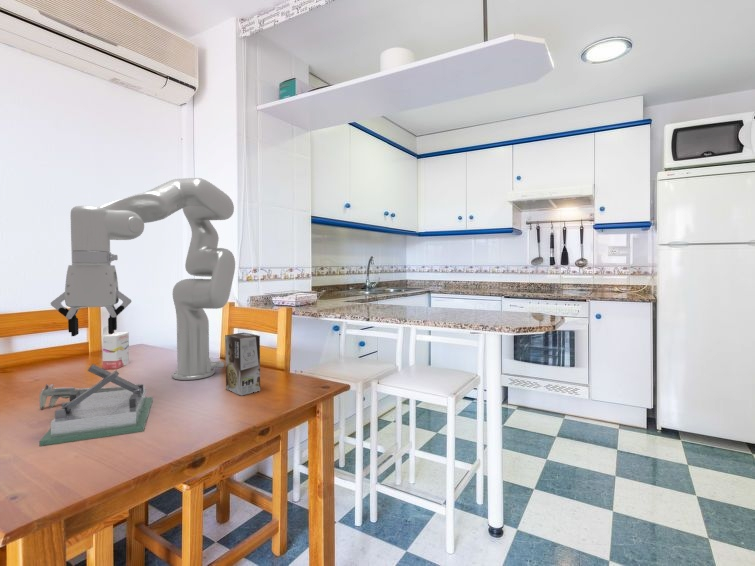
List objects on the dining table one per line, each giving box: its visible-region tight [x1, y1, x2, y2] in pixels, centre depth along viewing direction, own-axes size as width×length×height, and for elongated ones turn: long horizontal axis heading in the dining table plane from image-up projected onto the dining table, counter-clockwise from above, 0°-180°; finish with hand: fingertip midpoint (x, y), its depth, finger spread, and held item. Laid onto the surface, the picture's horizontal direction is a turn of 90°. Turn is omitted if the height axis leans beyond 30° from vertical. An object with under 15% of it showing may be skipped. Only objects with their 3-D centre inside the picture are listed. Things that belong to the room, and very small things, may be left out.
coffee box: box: [224, 332, 261, 397], centre depth 117 cm, size 9×6×16 cm
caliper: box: [39, 383, 127, 410], centre depth 109 cm, size 20×1×6 cm, turn 144°
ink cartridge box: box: [101, 325, 130, 370], centre depth 144 cm, size 9×5×15 cm, turn 6°
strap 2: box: [87, 364, 142, 392], centre depth 99 cm, size 13×3×1 cm
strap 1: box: [60, 370, 120, 412], centre depth 89 cm, size 13×3×1 cm
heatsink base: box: [38, 383, 154, 447], centre depth 94 cm, size 18×22×6 cm
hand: (93, 333), depth 96 cm, fingers open, 6 cm apart
